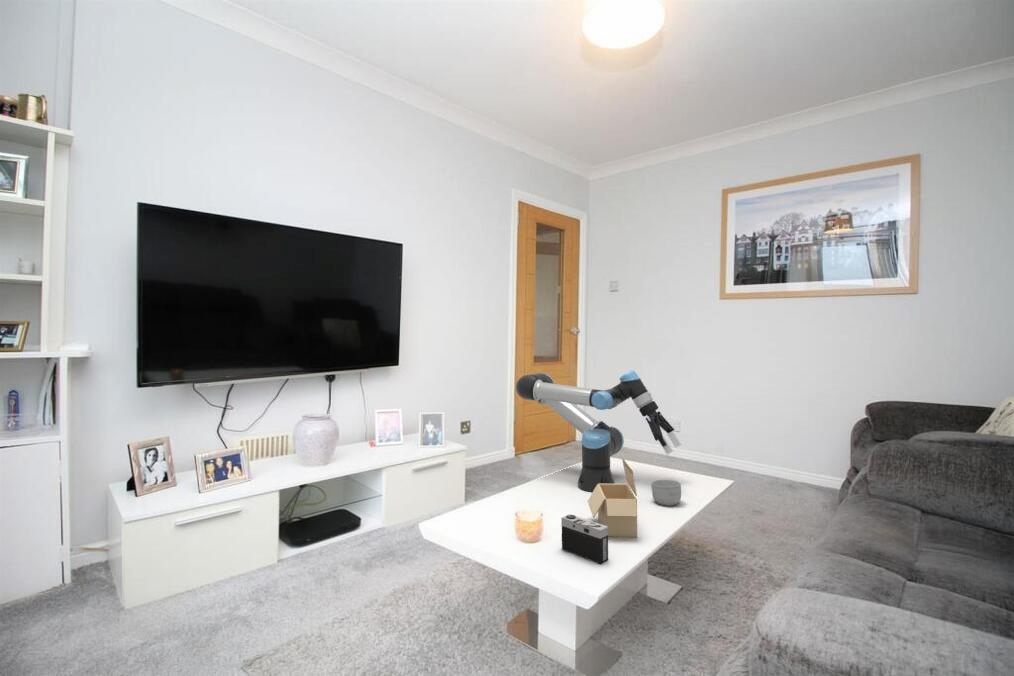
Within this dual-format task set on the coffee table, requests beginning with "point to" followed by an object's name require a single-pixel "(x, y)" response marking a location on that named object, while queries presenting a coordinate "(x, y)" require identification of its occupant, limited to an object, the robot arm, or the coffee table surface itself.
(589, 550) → the camera
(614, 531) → the carton
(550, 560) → the coffee table surface
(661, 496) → the teacup
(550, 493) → the coffee table surface
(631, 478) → the flap
